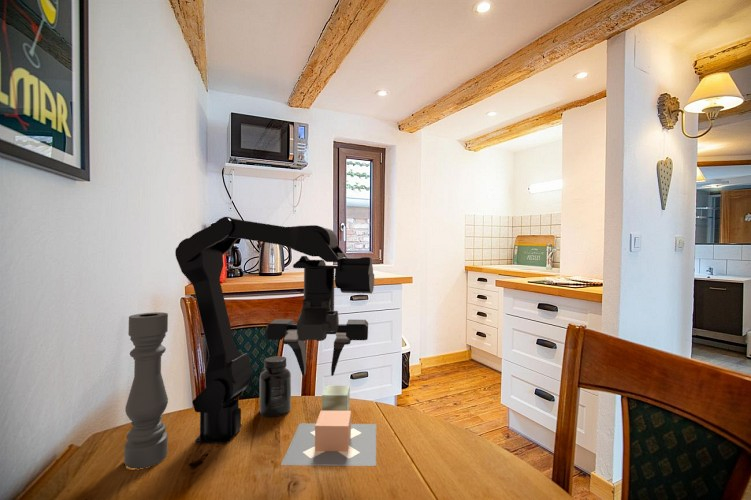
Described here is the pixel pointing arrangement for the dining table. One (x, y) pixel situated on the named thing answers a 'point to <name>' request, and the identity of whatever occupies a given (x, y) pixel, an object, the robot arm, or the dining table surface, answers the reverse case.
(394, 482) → the dining table surface
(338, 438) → the terracotta block
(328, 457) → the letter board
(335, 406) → the sage cube
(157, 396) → the candle holder
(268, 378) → the supplement bottle
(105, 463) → the dining table surface
